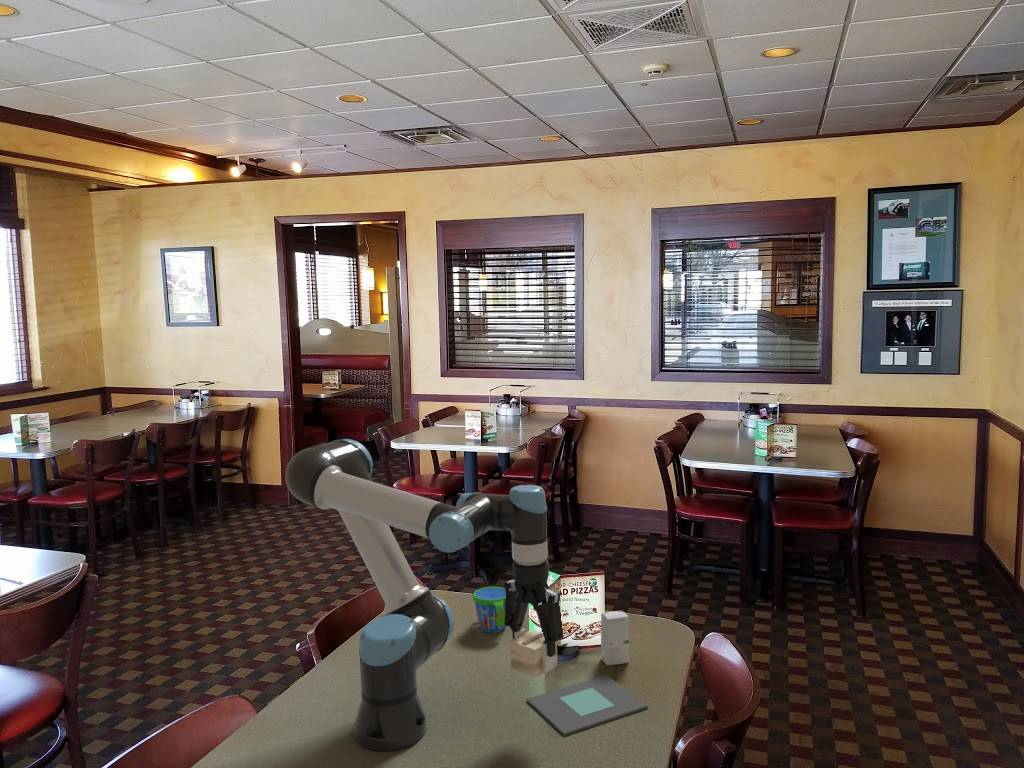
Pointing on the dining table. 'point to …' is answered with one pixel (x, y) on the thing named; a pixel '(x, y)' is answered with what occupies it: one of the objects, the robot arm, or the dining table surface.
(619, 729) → the dining table surface
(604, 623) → the skincare box
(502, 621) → the snack cup
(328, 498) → the robot arm
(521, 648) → the birch block
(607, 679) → the rubber mat
